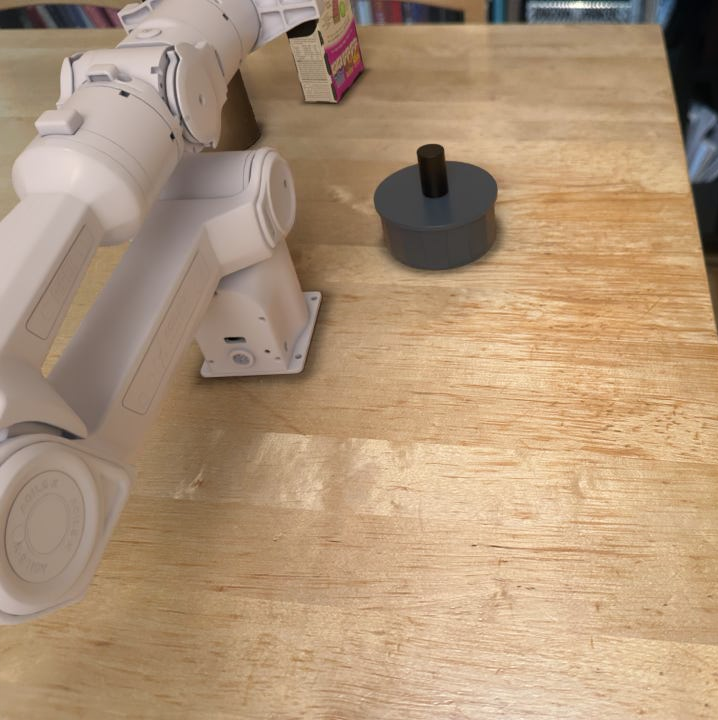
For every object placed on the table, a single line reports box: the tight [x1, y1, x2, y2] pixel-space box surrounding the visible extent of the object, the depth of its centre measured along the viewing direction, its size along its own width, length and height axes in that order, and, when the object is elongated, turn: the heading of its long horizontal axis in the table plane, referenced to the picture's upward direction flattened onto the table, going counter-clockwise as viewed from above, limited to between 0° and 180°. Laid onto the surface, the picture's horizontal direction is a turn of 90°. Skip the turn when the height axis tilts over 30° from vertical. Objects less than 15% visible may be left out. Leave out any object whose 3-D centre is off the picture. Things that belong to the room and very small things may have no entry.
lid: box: [372, 143, 499, 232], centre depth 58 cm, size 11×11×5 cm
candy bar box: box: [287, 0, 365, 104], centre depth 83 cm, size 11×5×16 cm, turn 168°
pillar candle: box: [198, 67, 261, 153], centre depth 74 cm, size 10×10×15 cm
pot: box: [379, 205, 497, 271], centre depth 61 cm, size 10×10×4 cm
